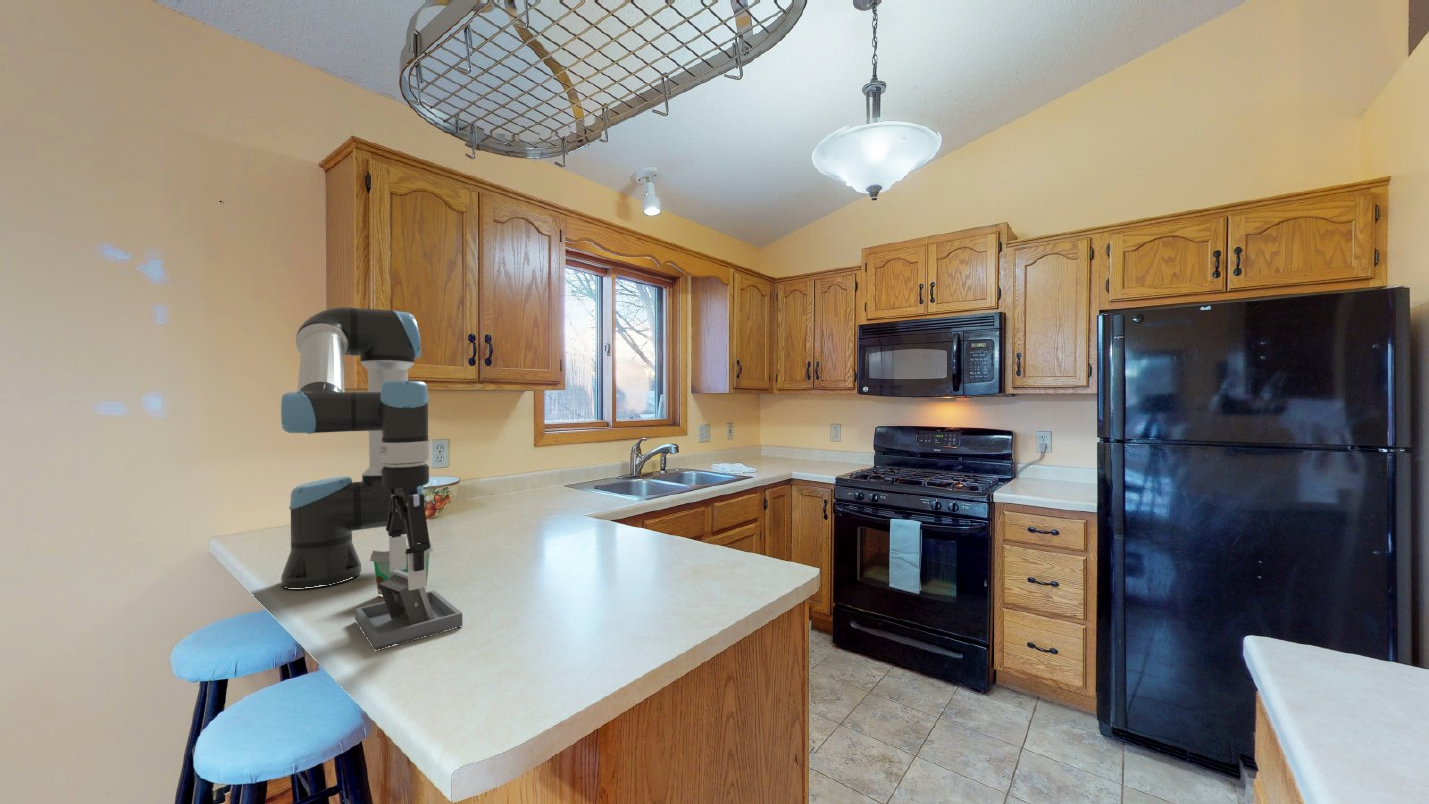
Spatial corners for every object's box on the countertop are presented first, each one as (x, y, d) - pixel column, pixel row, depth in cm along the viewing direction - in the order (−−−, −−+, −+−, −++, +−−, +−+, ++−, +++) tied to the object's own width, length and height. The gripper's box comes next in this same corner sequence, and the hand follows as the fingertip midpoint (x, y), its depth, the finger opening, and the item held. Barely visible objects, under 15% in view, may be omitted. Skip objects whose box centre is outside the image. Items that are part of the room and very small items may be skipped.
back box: (355, 621, 99) (355, 608, 99) (434, 602, 109) (434, 590, 109) (375, 651, 87) (374, 636, 87) (462, 626, 96) (462, 613, 96)
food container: (382, 604, 108) (382, 555, 108) (370, 598, 112) (369, 550, 112) (443, 587, 118) (443, 542, 118) (430, 582, 122) (430, 538, 122)
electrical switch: (436, 622, 97) (430, 573, 96) (407, 636, 93) (400, 584, 92) (410, 612, 102) (404, 565, 101) (381, 624, 98) (375, 575, 97)
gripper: (367, 460, 104) (369, 567, 105) (399, 473, 86) (401, 602, 86) (410, 457, 110) (411, 559, 110) (449, 468, 91) (450, 591, 92)
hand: (407, 578), depth 98 cm, fingers open, 13 cm apart
